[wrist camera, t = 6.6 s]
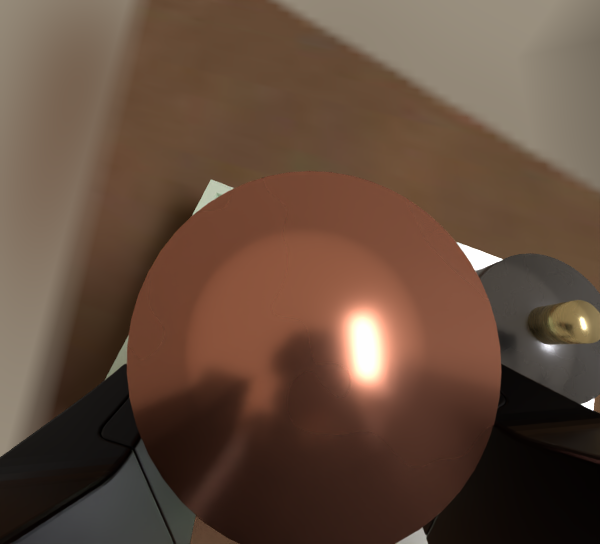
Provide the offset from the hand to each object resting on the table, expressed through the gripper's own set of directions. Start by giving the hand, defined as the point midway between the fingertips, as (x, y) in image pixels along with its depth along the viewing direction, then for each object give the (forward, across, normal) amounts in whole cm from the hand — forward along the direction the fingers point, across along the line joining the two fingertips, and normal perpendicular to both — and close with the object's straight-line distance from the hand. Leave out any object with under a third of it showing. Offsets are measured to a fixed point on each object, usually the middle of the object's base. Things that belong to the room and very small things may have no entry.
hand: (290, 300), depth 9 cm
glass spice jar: (+4, 0, +6) cm, 7 cm away
